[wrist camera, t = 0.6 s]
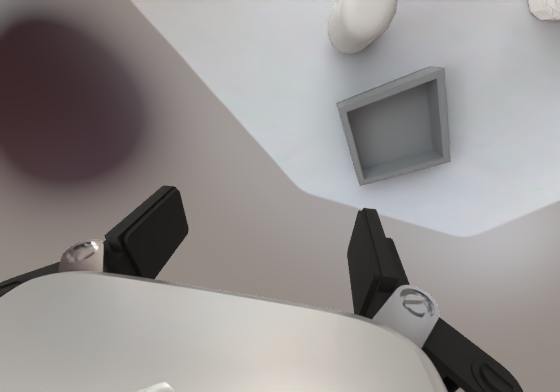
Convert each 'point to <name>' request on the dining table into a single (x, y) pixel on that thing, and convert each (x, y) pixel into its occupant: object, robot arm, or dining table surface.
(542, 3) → the white cup
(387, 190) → the dining table surface
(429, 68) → the box
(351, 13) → the salt shaker
